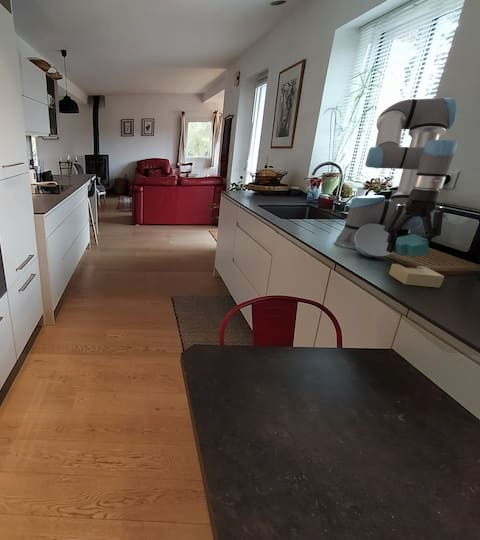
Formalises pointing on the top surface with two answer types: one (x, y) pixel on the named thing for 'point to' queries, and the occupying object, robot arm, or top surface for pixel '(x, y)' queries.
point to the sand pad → (416, 276)
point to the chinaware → (372, 240)
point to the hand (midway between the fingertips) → (404, 253)
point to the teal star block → (411, 245)
